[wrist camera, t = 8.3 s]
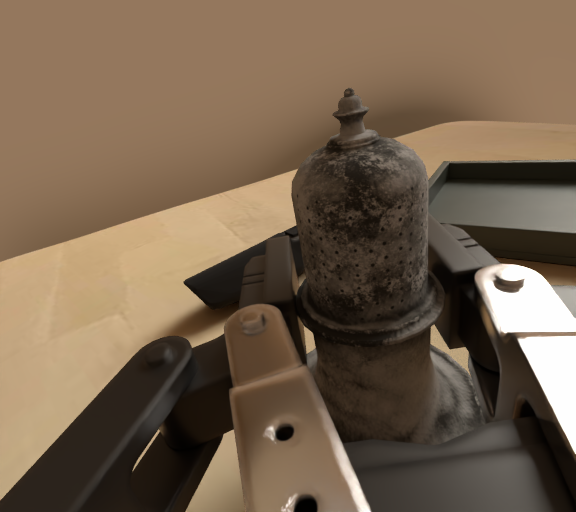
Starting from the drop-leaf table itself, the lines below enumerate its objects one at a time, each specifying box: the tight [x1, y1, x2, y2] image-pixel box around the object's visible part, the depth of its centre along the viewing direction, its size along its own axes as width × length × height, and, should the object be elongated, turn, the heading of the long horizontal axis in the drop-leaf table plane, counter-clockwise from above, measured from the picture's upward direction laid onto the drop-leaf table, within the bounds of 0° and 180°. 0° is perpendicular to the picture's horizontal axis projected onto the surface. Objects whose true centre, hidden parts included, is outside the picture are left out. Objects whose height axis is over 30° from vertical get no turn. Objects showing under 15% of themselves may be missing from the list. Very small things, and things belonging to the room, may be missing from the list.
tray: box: [428, 160, 576, 266], centre depth 25 cm, size 15×13×2 cm
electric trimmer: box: [184, 225, 304, 309], centre depth 25 cm, size 4×16×3 cm, turn 126°
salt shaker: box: [291, 88, 486, 445], centre depth 9 cm, size 6×6×12 cm
